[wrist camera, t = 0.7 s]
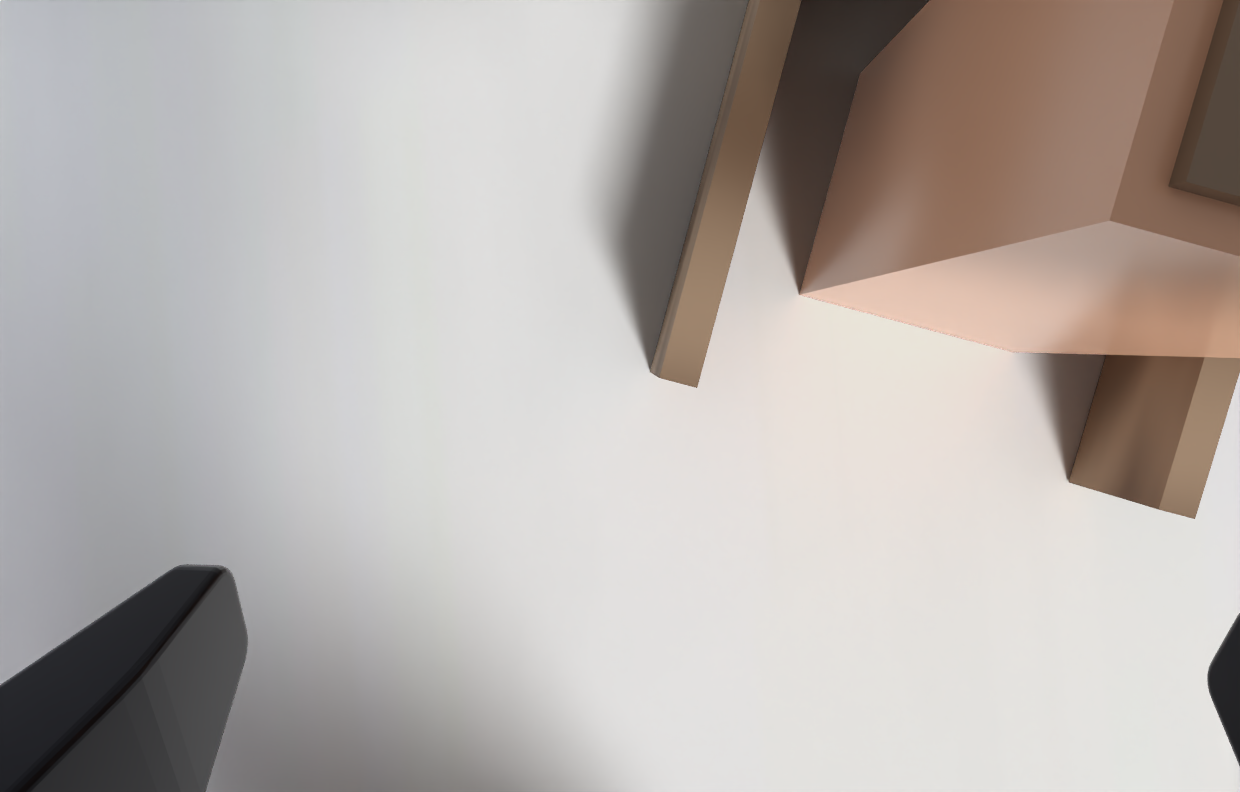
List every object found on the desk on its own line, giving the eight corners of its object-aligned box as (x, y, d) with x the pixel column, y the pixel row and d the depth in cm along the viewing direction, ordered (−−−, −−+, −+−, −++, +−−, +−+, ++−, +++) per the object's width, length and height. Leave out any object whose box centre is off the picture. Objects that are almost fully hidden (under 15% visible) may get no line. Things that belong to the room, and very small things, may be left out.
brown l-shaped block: (1099, 490, 22) (1289, 547, 16) (650, 371, 21) (668, 384, 15) (1232, 42, 21) (1484, -78, 15) (772, -89, 21) (842, -266, 15)
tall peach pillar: (1013, 352, 21) (1678, 369, 8) (799, 295, 21) (1125, 217, 8) (1076, 133, 21) (1875, -220, 8) (860, 73, 21) (1304, -394, 8)
